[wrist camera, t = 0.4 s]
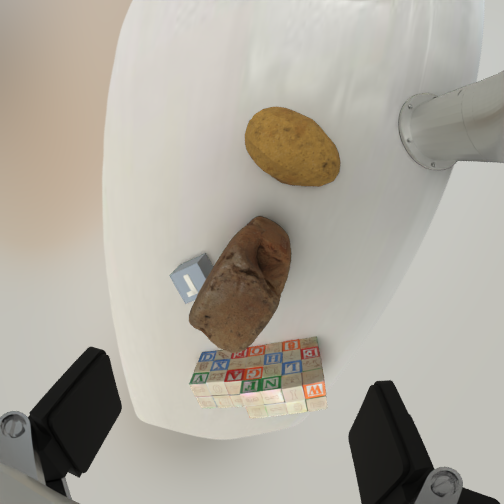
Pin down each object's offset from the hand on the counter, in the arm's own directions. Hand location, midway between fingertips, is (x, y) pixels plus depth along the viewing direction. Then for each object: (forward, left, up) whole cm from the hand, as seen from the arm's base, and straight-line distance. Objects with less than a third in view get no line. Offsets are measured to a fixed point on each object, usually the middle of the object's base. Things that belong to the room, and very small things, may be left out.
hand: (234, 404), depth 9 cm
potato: (-7, -8, -35) cm, 37 cm away
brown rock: (+4, +3, -35) cm, 36 cm away
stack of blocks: (+12, +22, -36) cm, 44 cm away
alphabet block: (+14, +3, -35) cm, 38 cm away
